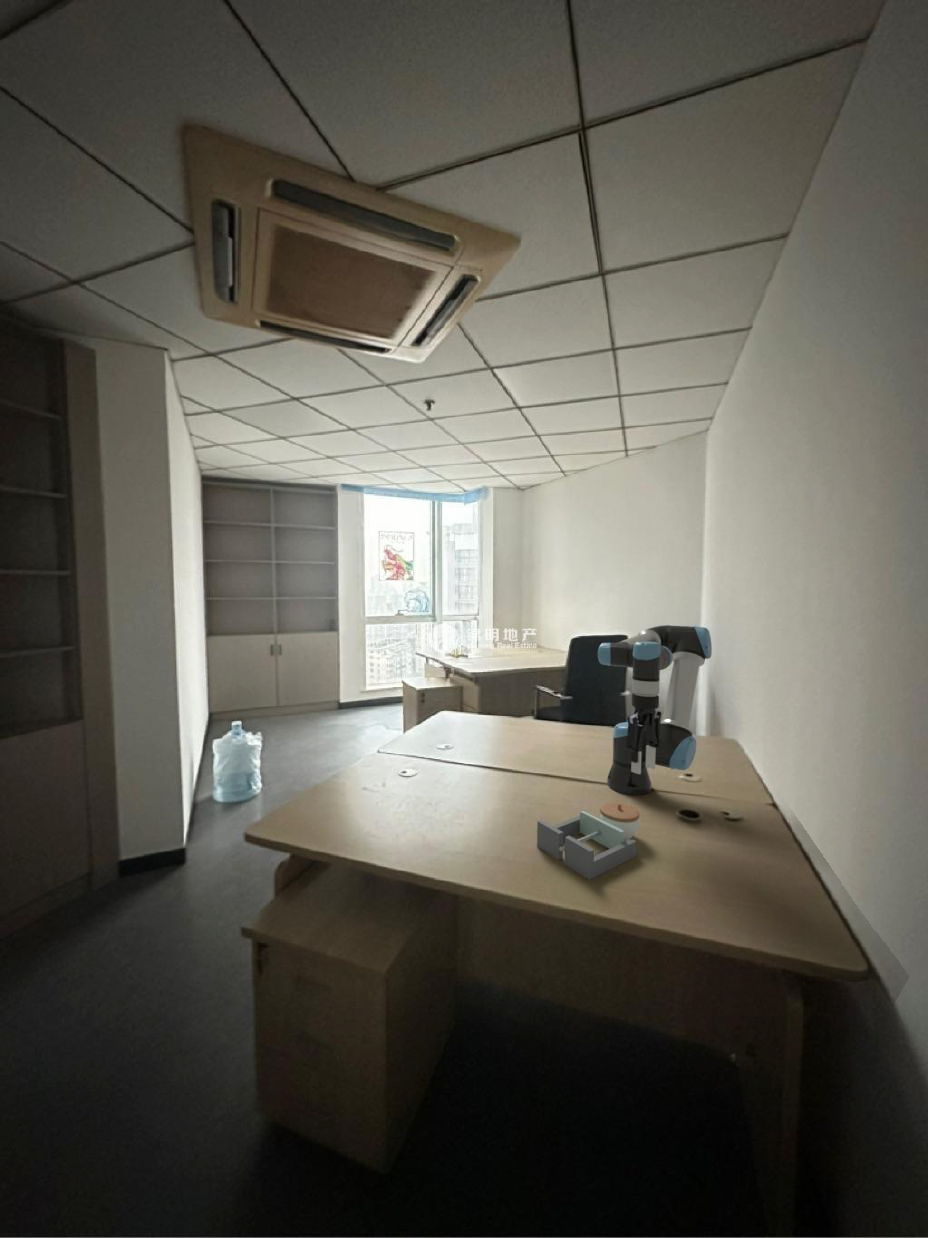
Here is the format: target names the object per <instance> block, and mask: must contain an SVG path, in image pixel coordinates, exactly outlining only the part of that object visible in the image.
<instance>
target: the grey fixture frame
mask: <svg viewBox="0 0 928 1238" xmlns="http://www.w3.org/2000/svg"><path fill="white" fill-rule="evenodd" d="M536 823H537V825H536V826H537V828H536V830H537V831H536V835H537V836H536V847H537V848H538V849H541V850H542V851H544V853H547V854H548V855H550V856H551V857H553V858H555V859H556V860H558V861H560V860H563V858H564V863H563V864H564V865H566V866H567V867H569V868H570V869H571V870H573V871H574V872H576V873H578V874H579V875H581V876H583V877H584V878H585V879H586V880H588V881H591V880H593V879H594V878H596V877H598V876H599V875H602V874H604V873H606V872H607V871H609V870H612V869H614V868H616V867H618V866H620V865H621V864H623V863H626V862H627V861H629V860H631V859H633V858H635V857H636V856H637V840H634V839H632V838H630V840H628V841H625V842H624V843H621V844H619V845H617V846H615V847H613V848H611V849H610V848H608V849H606V850H605V851H603V852H600V853H599V854H598V853H597V854H596V855H595V849H594V848H592V847H590V846H588V845H586V844H585V843H584V842H582V843H581V842H580V841H578V839H576V838H575V837H573V836H575V835H577V834H579V833H580V815H578V816H576V817H573V818H570V819H568V820H565V821H562V822H560V823H557V824H555V825H551V824H550V823H548V822H546V821H545V820H542V819H540V820H538V821H537V822H536ZM580 834H581V833H580ZM564 845H565V850H563V851H560V850H559V847H562V846H564Z"/></svg>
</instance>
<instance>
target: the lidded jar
mask: <svg viewBox="0 0 928 1238" xmlns="http://www.w3.org/2000/svg"><path fill="white" fill-rule="evenodd" d="M599 814H600V815H599V816H600V817H599V819H601V820H603V821H605V822H607V823H609V824H611V825H613V826H615V827H617V828H619V829H621V830H623V831H624V842H626V841H628V840H630V839H632V838H633V837H634V836H635V835H636V834H637V831H638V828H639V824H640V822H639V821H640V811H639V809H637V808H636V807H635V806H632V805H631V804H628V803H624V802H622V801H621V802H620V801H607V802H604V803H602V804H600V806H599Z"/></svg>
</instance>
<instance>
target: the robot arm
mask: <svg viewBox="0 0 928 1238" xmlns="http://www.w3.org/2000/svg"><path fill="white" fill-rule="evenodd" d="M712 651H713V649H712V638H711V633H710V630H709V629H708V628H707V627H705V626H697V625H695V626H689V625H687V626H685V625H684V626H683V625H670V624H669V625H668V624H667V625H666V624H665V625H658V626H653V627H650V628H649V627H648V628H646V629H644V630H641V631H640V632H638V633H637V635H634V636H632V637H630V638H627V639H624V640H621V641H618V642H602V643H601V644H600V645H599V646H598V650H597V659H598V662H599V663H600V664H601V665H604V666H609V667H611V666H612V667H620V668H621V667H622V668H631V669H632V685H631V686H632V688H631V689H632V690H631V691H632V694H631V706H632V707H633V708H634V712H633V715H627V721H625V722H619V723H617V724H616V725H615V726H614V728H613V735H612V738H613V739H612V740H613V741H612V742H613V743H612V764H611V768H610V769H609V772H608V775H607V778H606V779H607V786H608V787H609V788H610V789H612V790H613V791H616V792H619V793H622V794H627V795H635V796H637V795H639V796H641V795H646V794H649V793H651V792H652V781H651V777H650V775H649V770H648V768H649V769H651V770H656V766H661V767H664V768H669V769H671V770H676V771H677V770H678V771H686V770H688V769H689V768H690V767H691V766H692V764H693V762H694V759H695V756H696V751H697V739H696V738H695V737H694V736H693V731H692V730H691V728H689V727H690V721H691V715H692V710H693V704H694V699H695V692H696V686H697V681H698V675H699V669H700V667H701V666H703V665H705V661H706V659H707V660H708V659H711V657H712V655H713V654H712ZM672 663H673V664H672ZM671 664H672V669H671V672H670V673H671V674H670V679H669V684H668V690H667V695H666V699H665V705H664V709H663V714H662V711H658V710H656V709H659V707H660V696H659V694H660V679H661V676H660V672H661V671H663V670H665V669H667V668H668V667H669V666H671Z"/></svg>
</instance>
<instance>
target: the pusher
mask: <svg viewBox="0 0 928 1238" xmlns="http://www.w3.org/2000/svg"><path fill="white" fill-rule="evenodd" d="M579 816H580V834H582V835H584V836H583V837H580V838H577V840H578V841H580V842H581V843H584V842H586V841H589V840H593V841H595V842H597V843H599V844H601V845H603V846H604V847H606V848H608V849H611V848H613V847H615V846H617V845H619V844H621V843H624V831H623V830H621V829H619V828H617V827H615V826H613V825H611V824H609V823H607V822H605V821H603V820H601V819H600V817H596V816H594V815H593V814H590V813H589V812H586V811H584V810H581V811H580V812H579ZM559 850H560V851H563V852H564V851H565V844H563V846H562V847H559Z"/></svg>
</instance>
